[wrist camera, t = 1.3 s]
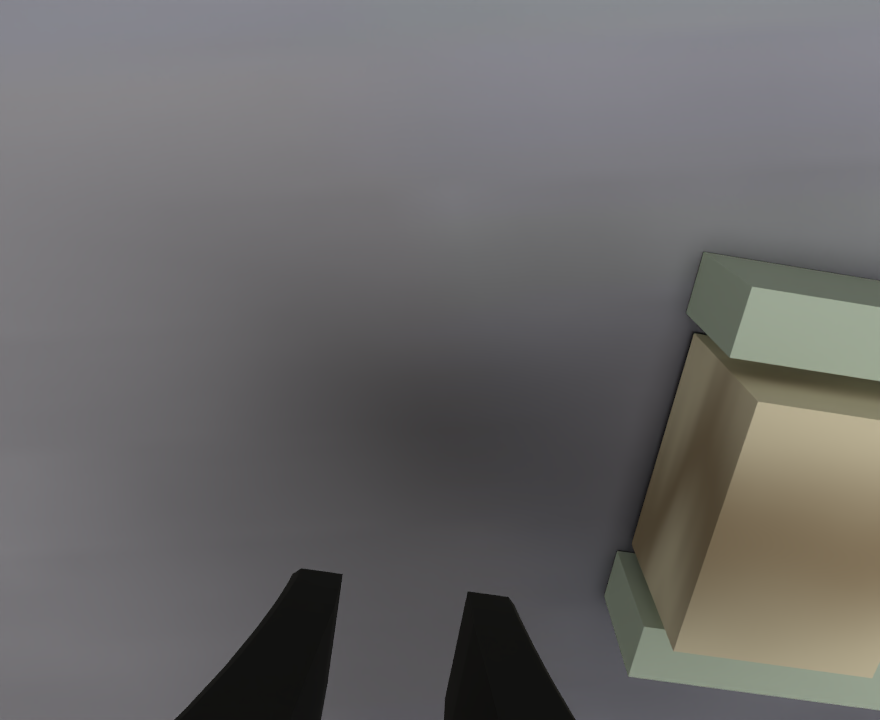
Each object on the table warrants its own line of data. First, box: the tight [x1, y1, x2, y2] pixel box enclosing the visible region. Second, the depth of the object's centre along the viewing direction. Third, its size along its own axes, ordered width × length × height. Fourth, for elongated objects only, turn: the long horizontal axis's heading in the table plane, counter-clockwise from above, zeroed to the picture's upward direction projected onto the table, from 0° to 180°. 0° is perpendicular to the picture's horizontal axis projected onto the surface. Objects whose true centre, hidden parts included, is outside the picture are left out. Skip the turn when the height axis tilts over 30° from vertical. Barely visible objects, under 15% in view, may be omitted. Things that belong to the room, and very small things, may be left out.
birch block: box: [632, 333, 880, 678], centre depth 18 cm, size 6×4×4 cm
